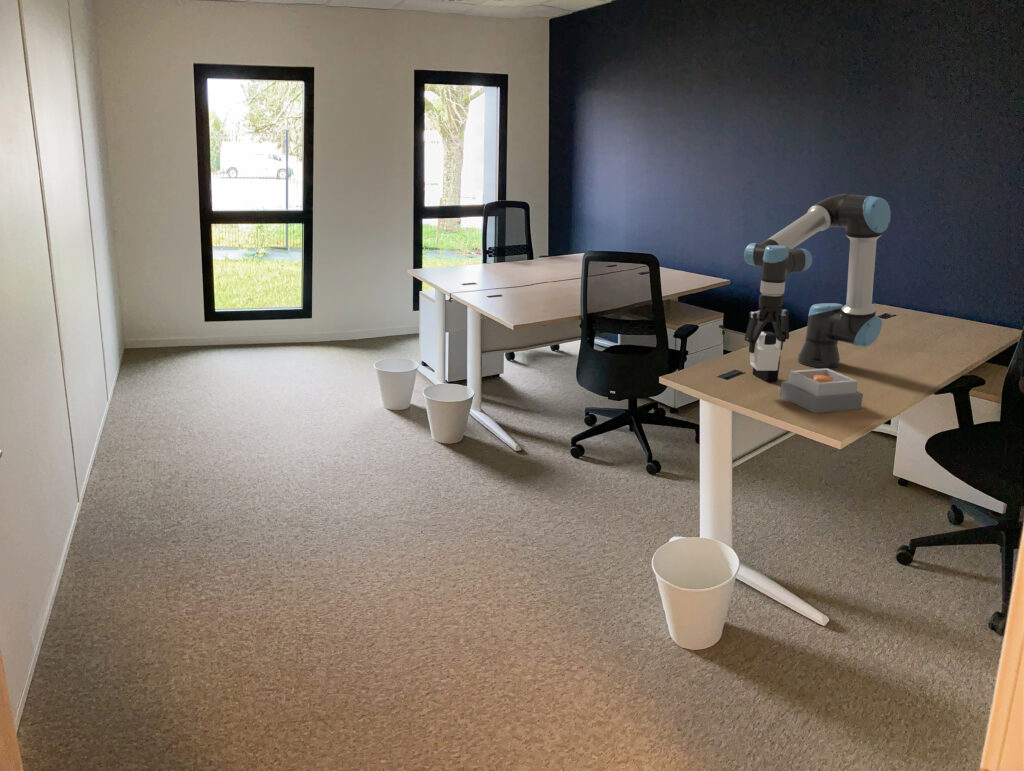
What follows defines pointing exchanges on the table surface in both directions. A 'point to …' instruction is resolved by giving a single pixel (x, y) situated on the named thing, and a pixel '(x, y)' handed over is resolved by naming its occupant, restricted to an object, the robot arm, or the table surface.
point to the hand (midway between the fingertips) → (764, 360)
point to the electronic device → (767, 374)
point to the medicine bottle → (767, 353)
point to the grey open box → (821, 391)
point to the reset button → (822, 378)
